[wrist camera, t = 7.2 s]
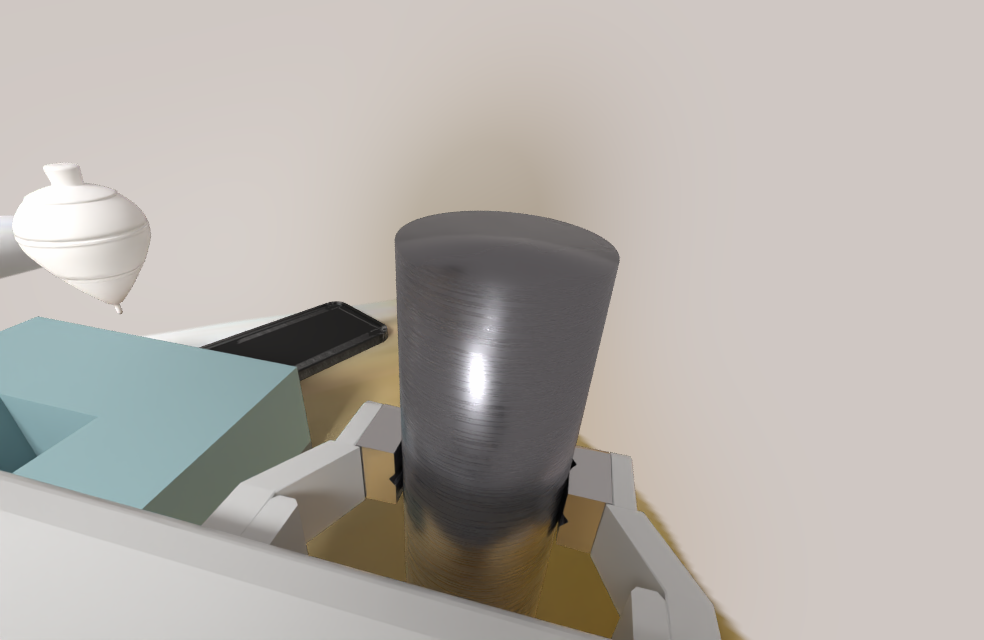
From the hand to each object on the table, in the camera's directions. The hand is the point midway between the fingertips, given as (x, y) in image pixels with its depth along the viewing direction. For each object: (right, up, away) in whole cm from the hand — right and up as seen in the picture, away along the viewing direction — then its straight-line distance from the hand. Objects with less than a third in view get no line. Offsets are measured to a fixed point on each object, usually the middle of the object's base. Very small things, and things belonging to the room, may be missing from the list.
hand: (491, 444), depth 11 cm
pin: (-1, -8, +4) cm, 9 cm away
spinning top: (-31, +4, +25) cm, 40 cm away
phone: (-16, 0, +21) cm, 27 cm away
